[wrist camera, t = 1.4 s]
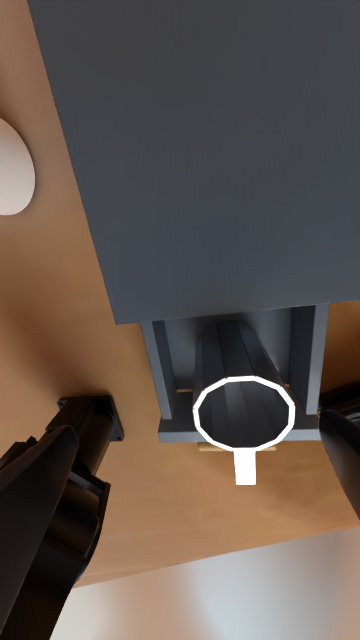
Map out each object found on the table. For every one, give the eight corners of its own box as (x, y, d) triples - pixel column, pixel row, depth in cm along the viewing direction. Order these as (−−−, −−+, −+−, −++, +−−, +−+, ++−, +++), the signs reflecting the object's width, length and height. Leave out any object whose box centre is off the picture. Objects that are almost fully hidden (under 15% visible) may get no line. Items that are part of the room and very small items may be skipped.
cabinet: (309, 277, 17) (366, 300, 11) (142, 296, 19) (115, 325, 13) (329, 19, 12) (455, -194, 6) (96, 83, 14) (18, -29, 8)
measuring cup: (260, 399, 20) (290, 486, 13) (203, 401, 20) (204, 484, 14) (259, 316, 17) (297, 372, 10) (193, 323, 17) (187, 379, 11)
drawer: (296, 425, 22) (319, 473, 17) (173, 428, 23) (167, 472, 19) (308, 250, 16) (349, 256, 11) (141, 272, 17) (121, 285, 13)
